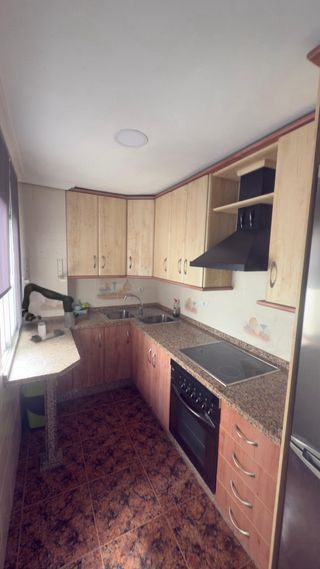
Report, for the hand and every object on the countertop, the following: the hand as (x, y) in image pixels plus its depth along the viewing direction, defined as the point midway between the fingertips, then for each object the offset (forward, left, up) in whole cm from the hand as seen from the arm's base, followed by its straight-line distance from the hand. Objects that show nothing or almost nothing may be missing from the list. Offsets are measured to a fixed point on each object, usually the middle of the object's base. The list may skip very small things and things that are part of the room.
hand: (36, 319), depth 236 cm
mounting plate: (0, +24, -13) cm, 27 cm away
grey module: (0, +11, -13) cm, 17 cm away
